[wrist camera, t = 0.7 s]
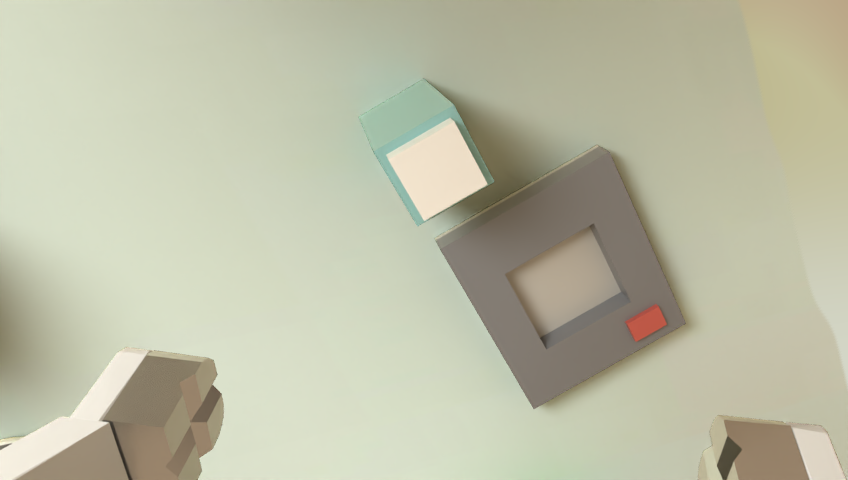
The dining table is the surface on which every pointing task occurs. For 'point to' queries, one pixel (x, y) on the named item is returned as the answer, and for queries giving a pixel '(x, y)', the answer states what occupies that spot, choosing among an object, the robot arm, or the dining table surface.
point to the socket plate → (563, 276)
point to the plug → (425, 150)
